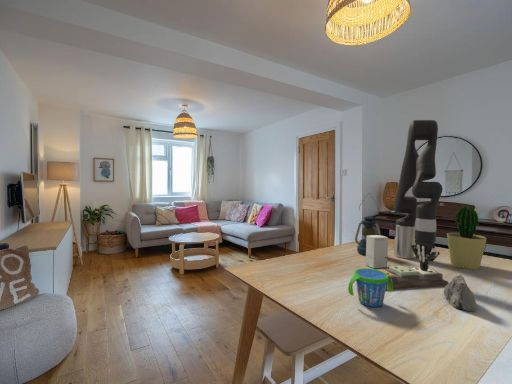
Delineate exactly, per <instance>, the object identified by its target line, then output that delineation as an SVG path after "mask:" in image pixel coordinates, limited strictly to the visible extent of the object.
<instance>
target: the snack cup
mask: <svg viewBox="0 0 512 384" xmlns="http://www.w3.org/2000/svg"><path fill="white" fill-rule="evenodd" d="M375 269H376V268H374V269H373V268H358V269H356V270H355V271H354V274H353V276H352V277H351V278H350V280H349V283H348V288H347V290H348V293H349V295H350V296H354V288H353V287H354V286H353V284H354V283H355V282H356V292H357V298H358V301H359V302H360V304H362V305H364V306H367V307H371V308H379V307H382V306H383V303H384V300H385V294H386V284H387V291H388V292H389V293H391V292H393V290H394V289H393V283H392V279H391V277H390V276H388V275H387V274H386V273H384V272H382V271H379V270H375Z"/></svg>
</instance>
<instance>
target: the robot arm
mask: <svg viewBox="0 0 512 384" xmlns="http://www.w3.org/2000/svg"><path fill="white" fill-rule="evenodd" d="M407 132H408V133H407V140H406V146H405V153H404V157H403V161H402V164H401V169H400V170H401V171H400V175H399V181H398V186H397V190H396V193H395V197H394V199H393V200H394V201H393V205H392V206H393V211H394V212H395V213H399V214H406V216H404V217H401V218H398V219H396V221H395V237H394V243H393V244H394V245H393V255H394V256H396V257H397V258H401V259H414V258H416V259H418V260H419V267H420V269H421V270H423V271H427V270H428V268H429V262H430V263H433V262H434V261H435V260H436V258H438V256H439V255H440V254H441V253H440V251H437V250H436V248H435V247H436V246H435V242H436V241H437V209H438V204H439V201H440V199H441V196H442V194H443V190H444V189H443V185H442V184H441V183H440V182H439V181H429V180H433V179H435V177H436V174H437V171H436V170H437V169H436V150H437V141H438V133H439V127H438V121H436V120H435V119H434V120H433V119H414V120H412V121H411V122H410V123H409V126H408V131H407ZM416 141H427V142H428V143H427V145H426V147H424V148H423V150H422V151H421V153H420V154H419V153H418V151H417V148H416ZM410 189H411V194H412V196H411V195H410V196H409V195H408V196H406V194H407V193H408V191H410ZM417 199H430V201H428V202H426V203H420V204H418V200H417Z"/></svg>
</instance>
